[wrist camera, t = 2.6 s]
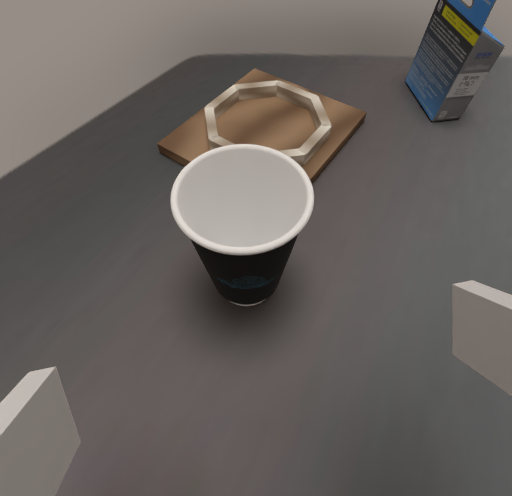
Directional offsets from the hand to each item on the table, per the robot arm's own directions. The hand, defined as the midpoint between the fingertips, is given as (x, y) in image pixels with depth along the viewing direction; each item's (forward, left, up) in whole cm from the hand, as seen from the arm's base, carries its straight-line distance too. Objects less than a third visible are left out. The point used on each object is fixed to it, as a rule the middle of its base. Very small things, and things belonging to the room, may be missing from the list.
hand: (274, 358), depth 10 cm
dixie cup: (+7, -7, -14) cm, 17 cm away
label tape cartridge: (+3, -41, -14) cm, 43 cm away
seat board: (+16, -23, -13) cm, 31 cm away
